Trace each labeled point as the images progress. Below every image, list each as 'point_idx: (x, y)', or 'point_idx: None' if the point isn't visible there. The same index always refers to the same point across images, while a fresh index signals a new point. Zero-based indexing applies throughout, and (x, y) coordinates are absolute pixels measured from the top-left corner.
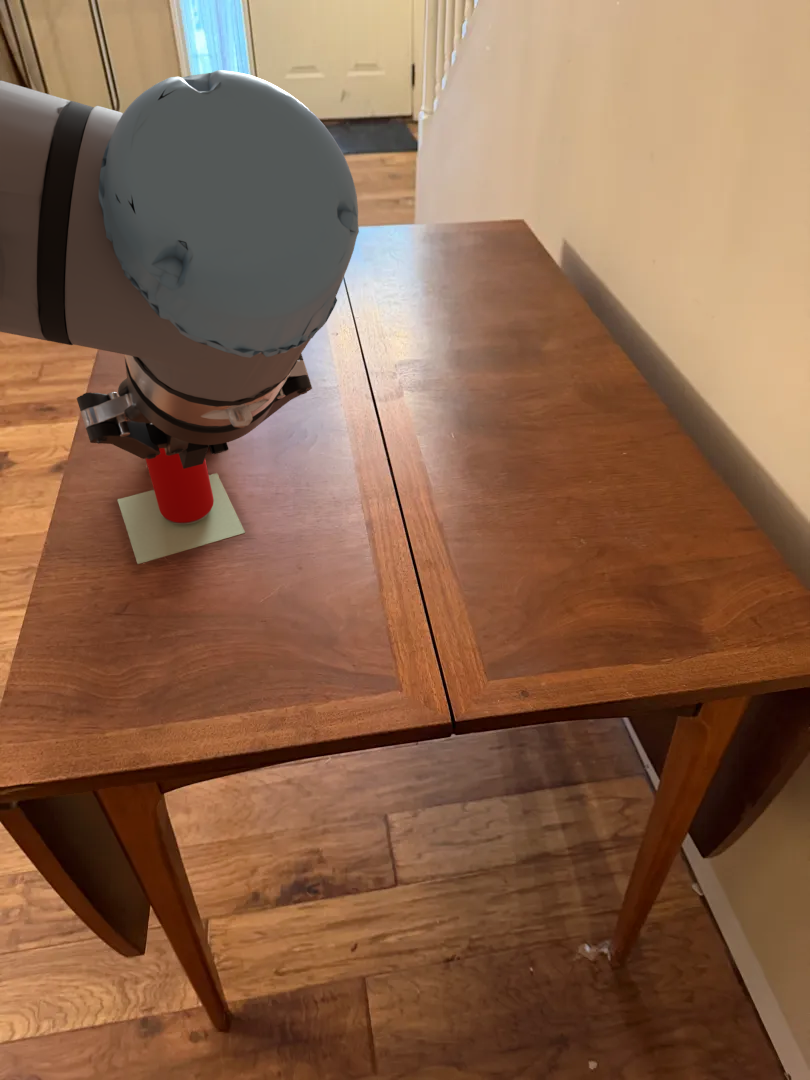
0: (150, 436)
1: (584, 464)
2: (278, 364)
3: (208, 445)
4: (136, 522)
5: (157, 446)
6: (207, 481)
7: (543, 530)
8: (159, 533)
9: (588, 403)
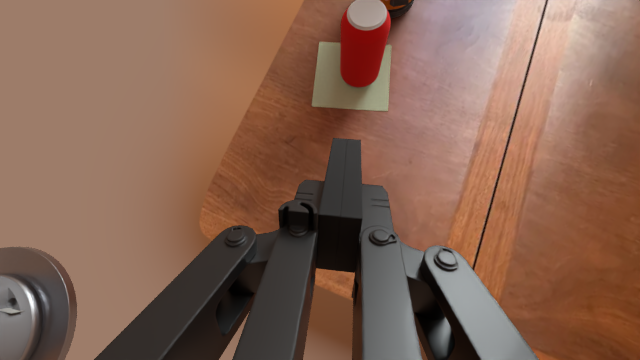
0: (244, 281)
1: None
2: None
3: (396, 16)
4: (323, 68)
5: (255, 293)
6: (379, 64)
7: (614, 220)
8: (333, 85)
9: None
